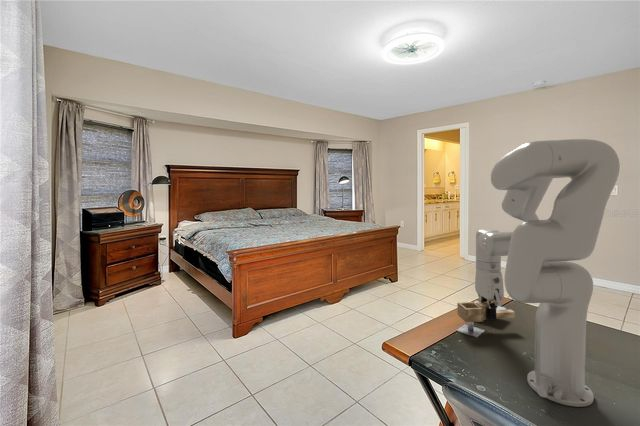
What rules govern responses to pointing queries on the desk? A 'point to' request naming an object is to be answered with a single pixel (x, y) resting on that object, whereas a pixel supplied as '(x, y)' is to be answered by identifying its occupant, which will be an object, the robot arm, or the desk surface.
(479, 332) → the pintle
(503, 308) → the plate
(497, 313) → the link
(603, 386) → the desk surface
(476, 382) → the desk surface
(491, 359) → the desk surface
